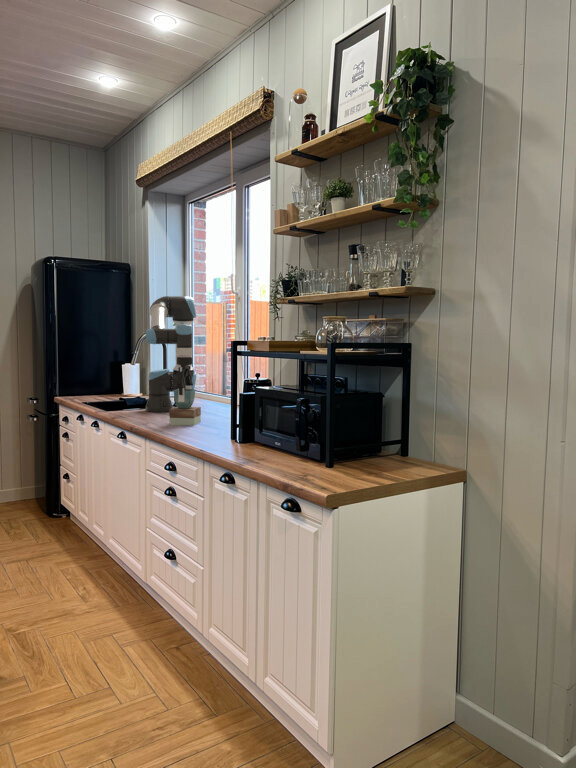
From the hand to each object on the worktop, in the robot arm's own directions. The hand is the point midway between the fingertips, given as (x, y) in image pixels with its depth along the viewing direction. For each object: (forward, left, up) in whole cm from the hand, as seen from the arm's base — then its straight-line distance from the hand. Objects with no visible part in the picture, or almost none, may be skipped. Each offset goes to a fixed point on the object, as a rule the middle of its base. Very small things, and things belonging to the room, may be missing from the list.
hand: (185, 400), depth 285 cm
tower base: (0, 0, -12) cm, 12 cm away
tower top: (0, 0, -8) cm, 8 cm away
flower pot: (-1, 0, -4) cm, 4 cm away
